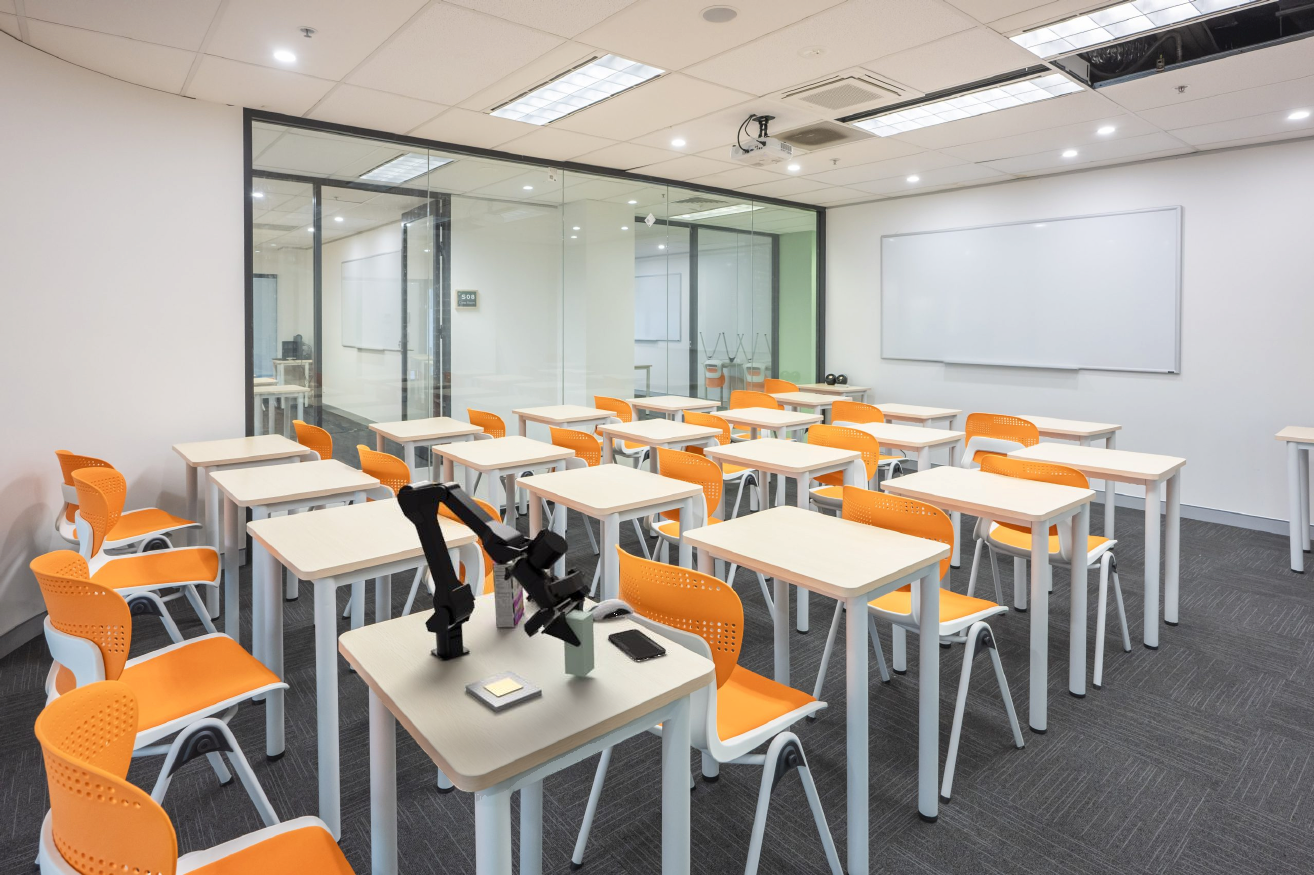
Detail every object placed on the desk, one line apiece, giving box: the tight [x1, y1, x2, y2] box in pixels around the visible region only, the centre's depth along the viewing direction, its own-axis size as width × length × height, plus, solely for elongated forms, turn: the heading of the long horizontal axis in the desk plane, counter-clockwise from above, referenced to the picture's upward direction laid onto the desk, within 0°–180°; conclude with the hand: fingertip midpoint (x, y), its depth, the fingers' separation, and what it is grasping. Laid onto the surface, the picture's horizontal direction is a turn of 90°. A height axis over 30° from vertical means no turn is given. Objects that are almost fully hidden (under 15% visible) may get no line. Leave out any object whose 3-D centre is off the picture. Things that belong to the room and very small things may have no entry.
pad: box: [465, 669, 543, 713], centre depth 144 cm, size 12×10×1 cm
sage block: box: [563, 610, 595, 678], centre depth 149 cm, size 4×4×12 cm
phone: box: [607, 628, 667, 661], centre depth 165 cm, size 8×1×15 cm
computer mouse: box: [560, 598, 635, 622], centre depth 184 cm, size 10×18×4 cm, turn 114°
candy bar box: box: [492, 556, 525, 629], centre depth 181 cm, size 11×5×16 cm, turn 179°
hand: (584, 641), depth 149 cm, fingers closed on sage block, 4 cm apart
